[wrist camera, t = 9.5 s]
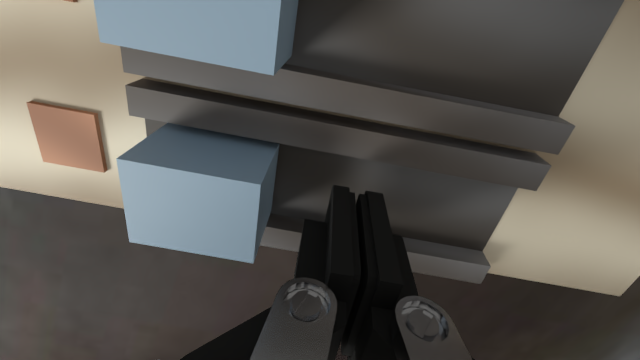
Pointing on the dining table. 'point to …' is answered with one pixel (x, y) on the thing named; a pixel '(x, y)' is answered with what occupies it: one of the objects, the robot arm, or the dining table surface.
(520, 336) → the dining table surface
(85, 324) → the dining table surface
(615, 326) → the dining table surface
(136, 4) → the tab
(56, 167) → the switch board
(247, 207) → the tab
